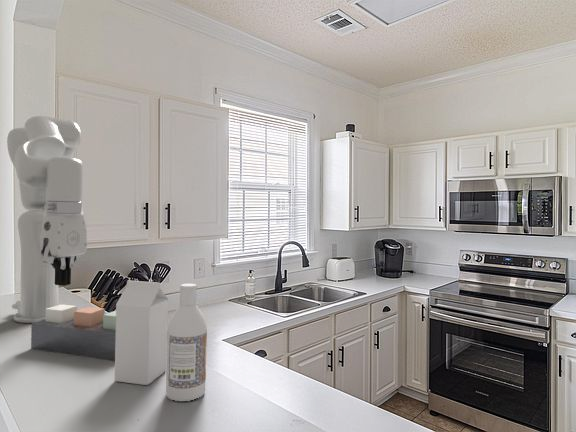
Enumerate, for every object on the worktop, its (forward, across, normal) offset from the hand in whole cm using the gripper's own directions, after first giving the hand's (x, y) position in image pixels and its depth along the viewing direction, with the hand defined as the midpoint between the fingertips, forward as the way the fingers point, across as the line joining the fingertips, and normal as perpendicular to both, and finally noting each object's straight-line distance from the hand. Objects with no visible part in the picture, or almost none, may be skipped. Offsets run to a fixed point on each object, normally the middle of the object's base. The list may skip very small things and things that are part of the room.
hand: (62, 284), depth 96 cm
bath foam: (+14, -14, -42) cm, 46 cm away
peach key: (+11, 0, -8) cm, 14 cm away
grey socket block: (+14, 0, -8) cm, 17 cm away
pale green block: (+11, 0, -16) cm, 20 cm away
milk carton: (+14, -10, -30) cm, 34 cm away
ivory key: (+11, -1, 0) cm, 11 cm away
